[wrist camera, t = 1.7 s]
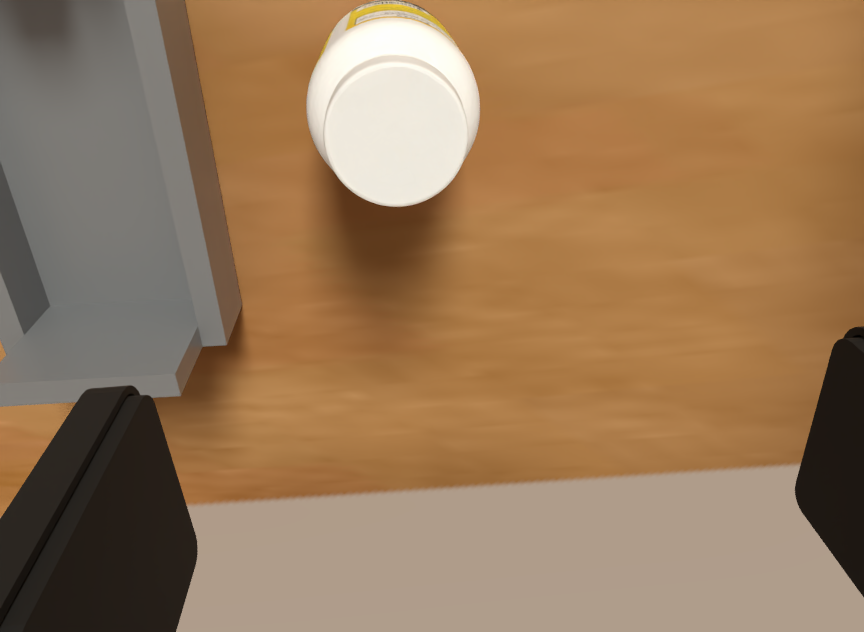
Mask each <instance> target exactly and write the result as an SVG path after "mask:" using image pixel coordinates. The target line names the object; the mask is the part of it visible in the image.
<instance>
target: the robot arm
mask: <svg viewBox="0 0 864 632" xmlns="http://www.w3.org/2000/svg"><path fill="white" fill-rule="evenodd" d="M795 495H796V499H797V503H798V505H799V508H800V509H801V511H802V513H803V514H804V515H805V517H806V518H807V520H808V521H809V522H810V524H811V525H812V527H813V528H814V529H815V531H816V532H817V533H818V535H819V536H820V538H821V539H822V540H823V542H824V543H825V544H826V546H827V547H828V549H829V550H830V551H831V553H832V554H833V556H834V557H835V558H836V560H837V561H838V562H839V564H840V565H841V567H842V568H843V569H844V571H845V572H846V573H847V575H848V576H849V578H850V579H851V580H852V582H853V583H854V584H855V586H856V587H857V589H858V590H859V591H860V592H861V594H862V595H863V597H864V327H855V328H852V329H850V330H849V331H848V332H847V333H846V334H845V336H844V338H843V339H840V340H838V341H837V342H836V343H835V344H834V346H833V349H832V352H831V356H830V359H829V363H828V367H827V371H826V374H825V378H824V382H823V385H822V389H821V393H820V396H819V400H818V404H817V407H816V411H815V415H814V418H813V422H812V426H811V429H810V433H809V437H808V440H807V444H806V448H805V451H804V455H803V459H802V462H801V466H800V470H799V474H798V477H797V481H796V486H795ZM196 560H197V540H196V535H195V532H194V528H193V526H192V522H191V519H190V515H189V512H188V509H187V506H186V503H185V499H184V496H183V493H182V490H181V486H180V483H179V480H178V477H177V474H176V470H175V467H174V464H173V461H172V457H171V454H170V451H169V448H168V445H167V441H166V438H165V435H164V432H163V429H162V425H161V422H160V419H159V416H158V412H157V409H156V406H155V403H154V401H153V399H152V398H151V396H149V395H140V393H139V391H138V390H137V389H136V387H134V386H132V385H128V386H115V387H103V388H91V389H87V390H86V391H85V392H84V393H83V394H82V395H81V397H80V398H79V400H78V401H77V403H76V404H75V406H74V407H73V409H72V410H71V412H70V413H69V415H68V416H67V418H66V419H65V421H64V423H63V424H62V426H61V427H60V429H59V430H58V432H57V433H56V435H55V436H54V438H53V439H52V441H51V442H50V444H49V446H48V447H47V449H46V450H45V452H44V453H43V455H42V456H41V458H40V459H39V461H38V462H37V464H36V465H35V467H34V469H33V470H32V472H31V473H30V475H29V476H28V478H27V479H26V481H25V482H24V484H23V485H22V487H21V488H20V490H19V492H18V493H17V495H16V496H15V498H14V499H13V501H12V502H11V504H10V505H9V507H8V508H7V510H6V511H5V513H4V514H3V516H2V517H1V519H0V632H176V629H177V626H178V623H179V619H180V616H181V613H182V609H183V605H184V602H185V599H186V596H187V592H188V589H189V585H190V582H191V579H192V575H193V572H194V569H195V565H196Z"/></svg>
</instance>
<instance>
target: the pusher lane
mask: <svg viewBox="0 0 864 632" xmlns="http://www.w3.org/2000/svg"><path fill="white" fill-rule="evenodd" d="M241 307H242V302H241V297H240V292H239V286H238V281H237V276H236V271H235V265H234V260H233V255H232V249H231V244H230V239H229V234H228V228H227V223H226V218H225V212H224V207H223V202H222V196H221V191H220V186H219V181H218V175H217V170H216V165H215V159H214V154H213V149H212V143H211V138H210V133H209V128H208V122H207V117H206V112H205V106H204V101H203V96H202V90H201V85H200V80H199V75H198V69H197V64H196V59H195V53H194V48H193V43H192V37H191V32H190V27H189V22H188V16H187V11H186V6H185V0H0V340H1V343H2V345H3V348H4V350H5V353H6V356H5V357H4V358H3V360H2V361H1V362H0V407H1V406H18V405H35V404H53V403H70V402H77V401H78V400H79V398H80V397H81V395H82V394H83V393H84V392H85V391H86V390H87V389H91V388H103V387H115V386H128V385H132V386H134V387H136V389H137V390H138V391H139V393H140V395H149V396H151V398H157V397H174V396H181V394H182V392H183V390H184V388H185V385H186V383H187V381H188V379H189V376H190V374H191V372H192V370H193V367H194V365H195V363H196V360H197V358H198V356H199V354H200V351H201V349H202V347H204V346H222V345H227V343H228V341H229V338H230V335H231V333H232V330H233V328H234V325H235V322H236V320H237V317H238V315H239V312H240V309H241Z"/></svg>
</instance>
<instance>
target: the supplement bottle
mask: <svg viewBox="0 0 864 632" xmlns="http://www.w3.org/2000/svg"><path fill="white" fill-rule="evenodd" d="M479 119H480V100H479V92H478V88H477V84H476V81H475V78H474V75H473V72H472V70H471V67H470V65H469V63H468V62H467V60H466V58H465V57H464V55H463V54H462V52H461V51H460V49H459V48H458V46H457V45H456V43H455V42H454V40H453V39H452V38H451V36H450V35H449V33H448V32H447V30H446V29H445V28H444V27H443V25H442V24H441V23H440V22H439V21H438V20H437V19H436V18H435V17H434V16H432V15H431V14H430V13H429V12H427V11H426V10H424V9H423V8H421V7H419V6H417V5H414V4H412V3H409V2H405V1H401V0H377V1H372V2H369V3H366V4H363V5H361V6H359V7H357V8H355V9H354V10H352V11H351V12H349V13H348V14H347V15H346V16H344V17H343V18H342V19H341V20H340V21H339V22H338V24H337V25H336V26H335V28H334V29H333V30H332V32H331V33H330V35H329V37H328V39H327V41H326V43H325V45H324V47H323V50H322V52H321V54H320V57H319V59H318V61H317V63H316V66H315V68H314V70H313V73H312V76H311V79H310V82H309V86H308V93H307V120H308V126H309V129H310V133H311V136H312V139H313V142H314V144H315V146H316V148H317V149H318V151H319V153H320V155H321V156H322V158H323V159H324V161H325V162H326V163H327V164H328V165H329V167H330V168H331V169H332V170H333V171H334V172H335V174H336V175H337V177H338V178H339V180H340V181H341V182H342V183H343V184H344V185H345V186H346V187H347V188H348V189H349V190H351V191H352V192H353V193H354V194H356V195H357V196H359V197H361V198H363V199H365V200H367V201H369V202H372V203H375V204H378V205H382V206H389V207H403V206H410V205H414V204H418V203H421V202H423V201H426V200H428V199H430V198H432V197H433V196H435V195H437V194H438V193H439V192H441V191H442V190H443V189H444V188H445V187H446V186H447V185H449V184H450V182H451V181H452V180H453V179H454V177H455V176H456V174H457V173H458V171H459V169H460V168H461V165H462V163H463V161H464V160H465V158H466V157H467V155H468V153H469V151H470V149H471V147H472V145H473V143H474V140H475V137H476V134H477V130H478V126H479Z"/></svg>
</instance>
